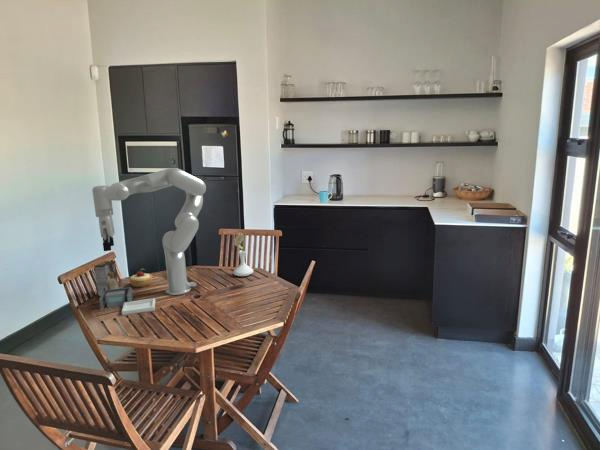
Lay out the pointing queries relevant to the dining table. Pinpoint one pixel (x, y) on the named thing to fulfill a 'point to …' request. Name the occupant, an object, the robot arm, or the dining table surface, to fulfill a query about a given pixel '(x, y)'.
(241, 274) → the flower in vase
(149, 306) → the tray
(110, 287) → the coffee box
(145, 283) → the pastry
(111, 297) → the grey chamfered block
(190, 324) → the dining table surface
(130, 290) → the bay
